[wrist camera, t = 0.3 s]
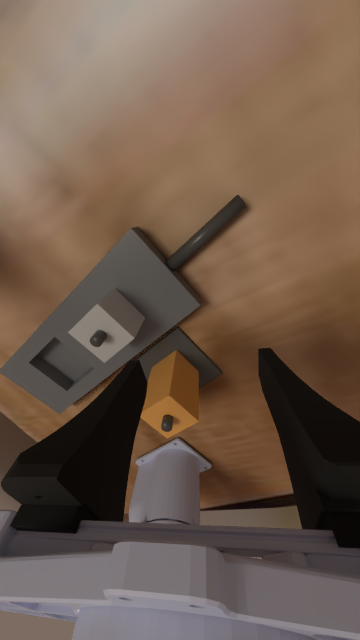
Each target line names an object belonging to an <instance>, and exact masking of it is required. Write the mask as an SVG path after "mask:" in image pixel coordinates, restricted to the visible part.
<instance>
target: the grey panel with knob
mask: <svg viewBox="0 0 360 640" xmlns="http://www.w3.org/2000/svg"><path fill="white" fill-rule="evenodd" d="M245 208H246V205H245V203H244V202H243V200H242V199H241V198H240V196H239V195H237V196H236V197H234V198H233V199H232V200H231V201H230V202H229V203H228V204H227V205H226V206H225V207H224V208H223V209H221V210H220V211H219V212H218V213H217V214H216V215H215V216H214V217H213V218H212V219H211V220H210V221H209V222H207V223H206V224H205V225H204V226H203V227H202V228H201V229H200V230H199V231H198V232H197V233H196V234H194V235H193V236H192V237H191V238H190V239H189V240H188V241H187V242H186V243H185V244H184V245H183V246H181V247H180V248H179V249H178V250H177V251H176V252H175V253H174V254H173V255H172V256H171V257H170V258H169V259H167V260H166V259H165V258H164V257H163V255H162V254H161V253H160V252H159V251H158V250H157V249H156V248H155V246H154V245H153V244H152V243H151V242H150V241H149V240H148V238H147V237H146V236H145V235H144V234H143V233H142V232H141V231H140V229H139V228H138V227H134V228H131V229H130V230H129V231H128V232H127V233H126V234H125V235H124V236H123V237H122V238H121V239H120V241H119V242H118V243H117V244H116V245H115V246H114V247H113V248H112V249H111V250H110V251H109V252H108V254H107V255H106V256H105V257H104V258H103V259H102V260H101V261H100V262H99V263H98V264H97V265H96V266H95V268H94V269H93V270H92V271H91V272H90V273H89V274H88V275H87V276H86V277H85V278H84V279H83V280H82V282H81V283H80V284H79V285H78V286H77V287H76V288H75V289H74V290H73V291H72V292H71V293H70V295H69V296H68V297H67V298H66V299H65V300H64V301H63V302H62V303H61V304H60V305H59V306H58V307H57V309H56V310H55V311H54V312H53V313H52V314H51V315H50V316H49V317H48V318H47V319H46V320H45V321H44V323H43V324H42V325H41V326H40V327H39V328H38V329H37V330H36V331H35V332H34V333H33V334H32V336H31V337H30V338H29V339H28V340H27V341H26V342H25V343H24V344H23V345H22V346H21V347H20V348H19V350H18V351H17V352H16V353H15V354H14V355H13V356H12V357H11V358H10V359H9V360H8V361H7V362H6V364H5V365H4V366H3V367H2V368H1V369H0V373H1V374H3V375H4V376H6V377H7V378H9V379H10V380H11V381H13V382H14V383H16V384H17V385H19V386H20V387H22V388H23V389H24V390H26V391H27V392H29V393H30V394H32V395H33V396H34V397H36V398H37V399H39V400H40V401H42V402H43V403H45V404H46V405H47V406H49V407H50V408H52V409H53V410H55V411H56V412H57V413H59V414H60V413H61V412H63V411H64V410H65V409H67V408H68V407H69V406H71V405H72V404H73V403H74V402H76V401H77V400H78V399H80V398H81V397H82V396H84V395H85V394H86V393H87V392H89V391H90V390H91V389H93V388H94V387H95V386H97V385H98V384H99V383H100V382H102V381H103V380H104V379H106V378H107V377H108V376H110V375H111V374H112V373H113V372H115V371H116V370H117V369H119V368H120V367H121V366H123V365H124V364H125V363H126V362H128V361H129V360H130V359H132V358H133V357H134V356H136V355H137V354H138V353H139V352H141V351H142V350H143V349H145V348H146V347H147V346H148V345H150V344H151V343H152V342H154V341H155V340H156V339H158V338H159V337H160V336H161V335H163V334H164V333H165V332H167V331H168V330H169V329H171V328H172V327H173V326H174V325H176V324H177V323H178V322H180V321H181V320H182V319H184V318H185V317H186V316H187V315H189V314H190V313H191V312H193V311H194V310H195V309H197V308H198V307H199V306H200V297H199V296H198V295H197V294H196V293H195V292H194V290H193V289H192V288H191V287H190V286H189V285H188V284H187V283H186V281H185V280H184V279H183V278H182V277H181V276H180V275H179V274H178V272H177V271H176V269H177V268H178V267H179V266H181V265H182V264H183V263H184V262H185V261H186V260H187V259H188V258H190V257H191V256H192V255H193V254H194V253H195V252H196V251H197V250H199V249H200V248H201V247H202V246H203V245H204V244H205V243H206V242H208V241H209V240H210V239H211V238H212V237H213V236H214V235H215V234H217V233H218V232H219V231H220V230H221V229H222V228H223V227H225V226H226V225H227V224H228V223H229V222H230V221H231V220H232V219H234V218H235V217H236V216H237V215H238V214H239V213H240V212H241V211H243V210H244V209H245Z"/></svg>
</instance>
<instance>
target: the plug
mask: <svg viewBox="0 0 360 640" xmlns="http://www.w3.org/2000/svg"><path fill="white" fill-rule="evenodd" d="M141 418H142V419H143V420H144V421H146V422H147V423H148V424H149V425H151V426H152V427H153V428H154V429H156V430H157V431H158V432H159V433H161V434H162V435H163V436H165V437H166V438H169V437H171V436H173V435H175V434H177V433H178V432H180V431H182V430H184V429H186V428H188V427H190V426H192V425H193V424H195V423H197V422H199V371H198V370H197V369H196V368H195V367H194V366H193V365H192V364H190V363H189V362H188V361H187V360H186V359H185V358H184V357H183V356H182V355H181V354H180V353H179V352H178V351H177V350H175V351H174V352H173V353H171V354H170V355H168V356H167V357H166V358H164V359H163V360H161V361H160V362H159V363H157V364H156V365H154V366H153V367H152V369H151V372H150V376H149V379H148V386H147V393H146V399H145V403H144V406H143V410H142V413H141Z"/></svg>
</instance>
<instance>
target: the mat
mask: <svg viewBox="0 0 360 640" xmlns="http://www.w3.org/2000/svg"><path fill="white" fill-rule="evenodd" d="M175 350H177V351H178V352H179V353H180V354H181V355H182V356H183V357H184V358H185V359H186V360H187V361H188V362H189V363H190V364H192V365H193V366H194V367H195V368H196V369H197V370H198V371H199V388H200V387H201V386H203V385H205V384H206V383H208V382H210V381H211V380H213V379H215V378H216V377H218V376H220V375H221V374H222V371H221V370H220V369H219V368H218V367H217V366H216V365H215V364H214V363H213V362H212V361H211V360H210V359H209V358H208V357H207V356H206V355H205V354H204V353H203V352H202V351H201V350H200V349H199V348H198V347H197V346H196V345H195V344H194V343H193V342H192V341H191V340H190V339H189V338H188V337H187V336H186V335H185V334H184V333H183V331H182V330H181V329H180V328H179V327H177V328H176V329H174V330H173V331H172V332H170V333H169V334H168V335H166V336H165V337H164V338H163V339H161V340H160V341H159V342H157V343H156V344H155V345H153V346H152V347H151V348H149V349H148V350H147V351H145V352H144V353H143V354H142V355H140V356H139V357H138V358H136V359H135V360H139V361H140V363H141V366H142V369H143V371H144V374H145V377H146V379H147V381H148V379H149V376H150V372H151V369H152V367H153V366H154V365H156V364H157V363H159V362H160V361H161V360H163V359H164V358H166V357H167V356H168V355H170V354H171V353H173V352H174V351H175Z"/></svg>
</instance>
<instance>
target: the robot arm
mask: <svg viewBox="0 0 360 640" xmlns="http://www.w3.org/2000/svg"><path fill="white" fill-rule="evenodd" d="M258 356H259V378H260V382H261V386H262V390H263V393H264V396H265V399H266V401H267V404H268V407H269V409H270V412H271V415H272V417H273V420H274V423H275V425H276V428H277V431H278V434H279V437H280V441H281V445H282V449H283V452H284V456H285V460H286V464H287V467H288V471H289V475H290V479H291V483H292V487H293V491H294V495H295V499H296V504H297V508H298V512H299V516H300V521H301V525H302V529H284V528H260V527H237V526H211V525H200V473H201V472H203V471H205V470H208V469H210V468H211V463H209V462H208V461H207V460H206V459H205V458H203V457H202V456H201V455H200V454H198V453H197V452H196V451H195V450H193V449H192V448H191V447H190V446H188V445H187V444H186V443H185V442H184V441H182V440H181V439H179V438H177V439H175V440H173V441H171V442H169V443H167V444H165V445H163V446H161V447H159V448H158V449H156V450H154V451H152V452H150V453H148V454H146V455H144V456H142V457H140V458H138V459H137V460H136V464H137V465H138V466H139V469H138V473H137V478H136V482H135V486H134V490H133V495H132V499H131V503H130V508H129V522H123V516H124V506H125V497H126V489H127V481H128V474H129V468H130V461H131V455H132V450H133V444H134V439H135V435H136V431H137V427H138V424H139V420H140V417H141V413H142V410H143V406H144V403H145V399H146V393H147V386H148V382H147V379H146V377H145V374H144V371H143V369H142V366H141V363H140V361H139V360H134V361H130V362H129V363H128V364H127V365H126V366H125V367H124V368H123V369H122V371H121V372H120V373H119V374H118V375H117V376H116V377H115V379H114V380H113V381H112V382H111V383H110V384H109V385H108V386H107V387H106V388H105V389H104V390H103V392H102V393H101V394H100V395H99V396H98V397H97V398H96V399H95V400H94V401H93V402H91V403H90V404H89V405H88V406H87V407H86V408H85V409H84V410H83V411H81V412H80V413H79V414H78V415H76V416H75V417H74V418H73V419H71V420H70V421H69V422H68V423H66V424H65V425H64V426H62V427H61V428H59V429H58V430H57V431H55V432H54V433H52V434H51V435H49V436H48V437H46V438H45V439H43V440H42V441H40V442H38V443H37V444H35V445H34V446H32V447H30V448H29V449H27V450H25V451H24V452H22V453H20V455H19V456H18V458H17V459H16V461H15V462H14V463H13V465H12V466H11V468H10V469H9V471H8V472H7V474H6V475H5V477H4V478H3V480H2V481H1V486H2V488H3V490H4V491H5V492H6V493H7V494H9V495H10V496H11V497H13V498H14V499H15V500H17V501H18V502H19V503H21V504H22V505H21V507H20V508H19V510H18V512H16V511H13V510H0V610H2V611H9V612H16V613H22V614H28V615H35V616H41V617H47V618H54V619H60V620H66V621H72V622H76V625H75V629H74V632H73V636H72V639H71V640H360V422H359V421H358V420H356V419H354V418H353V417H351V416H350V415H348V414H346V413H345V412H343V411H342V410H340V409H339V408H337V407H336V406H334V405H333V404H331V403H330V402H328V401H327V400H326V399H324V398H323V397H322V396H320V395H319V394H318V393H316V392H315V391H314V390H313V389H311V388H310V387H309V386H308V385H307V384H306V383H304V382H303V381H302V380H301V379H300V378H299V377H298V376H297V375H296V374H295V373H293V372H292V371H291V370H290V369H289V368H288V367H287V366H286V365H285V364H284V363H283V362H282V360H281V359H280V358H279V357H278V356H277V355H276V354H275V353H274V352H273V350H272V349H271V348H262V349H258ZM245 556H247V557H245ZM251 557H262V559H257V558H251Z"/></svg>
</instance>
